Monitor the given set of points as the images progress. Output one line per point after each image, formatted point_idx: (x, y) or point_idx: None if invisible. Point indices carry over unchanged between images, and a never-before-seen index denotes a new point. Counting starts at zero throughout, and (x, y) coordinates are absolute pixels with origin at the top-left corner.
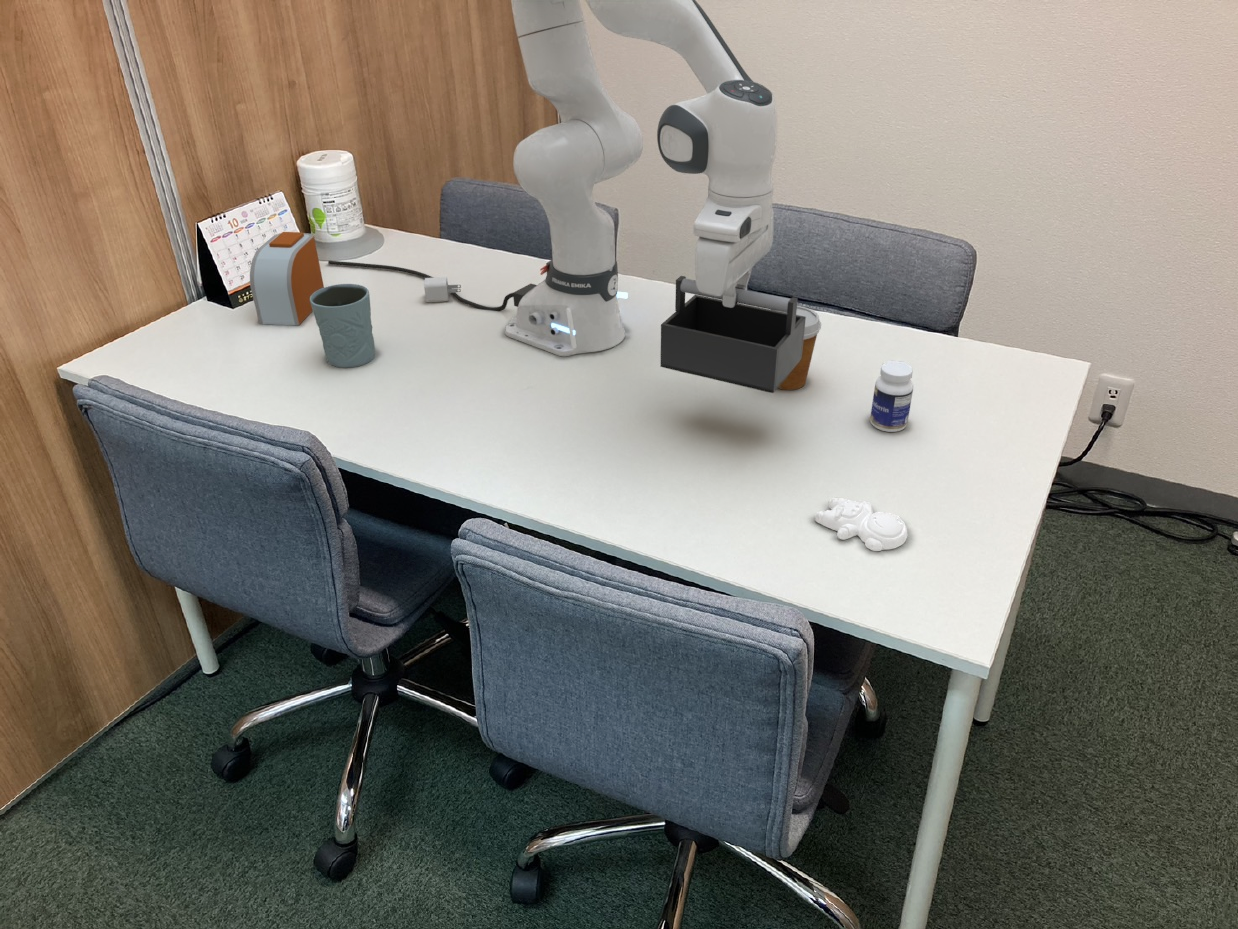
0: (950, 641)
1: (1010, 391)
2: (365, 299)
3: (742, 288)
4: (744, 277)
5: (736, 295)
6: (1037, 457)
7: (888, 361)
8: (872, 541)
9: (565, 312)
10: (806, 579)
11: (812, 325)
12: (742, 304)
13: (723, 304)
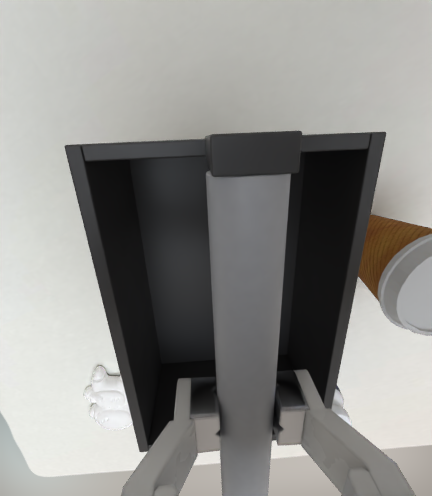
0: (36, 464)
1: (401, 417)
2: None
3: (277, 440)
4: (332, 469)
5: (201, 449)
6: (293, 451)
7: (346, 417)
8: (89, 415)
9: None
10: (18, 386)
11: (416, 332)
12: (347, 308)
13: (178, 382)
